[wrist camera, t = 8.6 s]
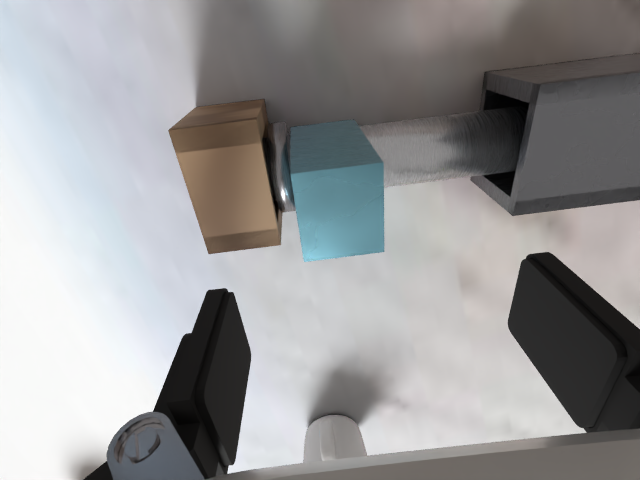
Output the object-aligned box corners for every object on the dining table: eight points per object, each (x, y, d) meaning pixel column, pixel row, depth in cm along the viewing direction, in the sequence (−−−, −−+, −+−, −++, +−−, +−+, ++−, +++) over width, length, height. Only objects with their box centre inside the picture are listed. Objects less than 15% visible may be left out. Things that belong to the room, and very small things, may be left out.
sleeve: (649, 51, 23) (752, 58, 18) (610, 162, 27) (685, 194, 22) (484, 71, 23) (540, 84, 18) (470, 180, 27) (512, 215, 22)
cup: (287, 399, 39) (286, 476, 33) (356, 386, 39) (370, 462, 32) (306, 448, 45) (309, 523, 38) (367, 438, 45) (381, 511, 38)
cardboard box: (264, 98, 23) (256, 119, 18) (282, 203, 27) (280, 244, 22) (195, 107, 23) (168, 130, 18) (224, 210, 27) (208, 254, 22)
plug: (501, 86, 23) (625, 120, 15) (488, 166, 26) (586, 234, 18) (217, 121, 23) (174, 176, 15) (236, 197, 26) (210, 281, 17)
